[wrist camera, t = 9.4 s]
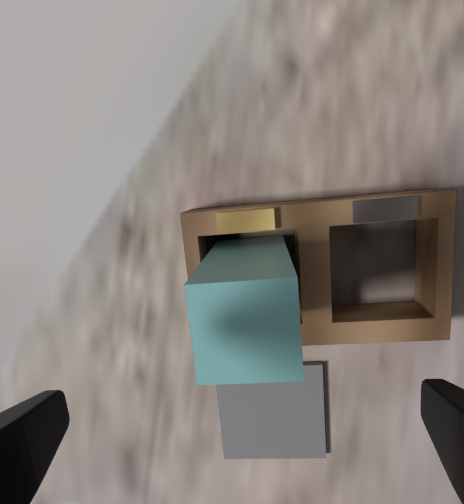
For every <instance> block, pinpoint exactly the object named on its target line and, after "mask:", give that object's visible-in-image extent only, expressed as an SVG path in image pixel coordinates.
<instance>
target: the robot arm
mask: <svg viewBox="0 0 464 504" xmlns="http://www.w3.org/2000/svg"><path fill="white" fill-rule="evenodd" d="M421 416H422V419H423V422H424V424H425V427H426V429H427V431H428V433H429V435H430V438H431V440H432V442H433V444H434V446H435V449H436V451H437V453H438V455H439V457H440V460H441V462H442V464H443V466H444V468H445V471H446V473H447V475H448V477H449V479H450V481H451V483H452V486H453V488H454V490H455V491H456V493H457V495H458V497H459V499H460V501H461V502H462V504H464V389H462V388H460V387H458V386H456V385H454V384H452V383H450V382H448V381H446V380H443V379H425V380H423V381H422V385H421ZM68 426H69V412H68V408H67V403H66V399H65V395H64V393H63V391H61V390H47V391H44V392H42V393H40V394H38V395H36V396H33V397H31V398H29V399H27V400H25V401H23V402H21V403H19V404H17V405H15V406H13V407H11V408H9V409H7V410H5V411H3V412H1V413H0V504H30V503H31V501H32V499H33V497H34V496H35V494H36V492H37V490H38V489H39V487H40V485H41V483H42V481H43V479H44V477H45V475H46V473H47V470H48V468H49V466H50V464H51V462H52V460H53V458H54V456H55V454H56V452H57V449H58V447H59V445H60V443H61V441H62V439H63V437H64V435H65V433H66V431H67V428H68Z"/></svg>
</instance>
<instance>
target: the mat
mask: <svg viewBox="0 0 464 504" xmlns="http://www.w3.org/2000/svg"><path fill="white" fill-rule="evenodd" d="M303 373H304V381H303V382H275V383H248V384H220V385H216V387H217V396H218V405H219V414H220V423H221V432H222V441H223V450H224V459H257V458H326V442H325V417H324V391H323V366H322V362H303Z"/></svg>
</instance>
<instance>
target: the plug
mask: <svg viewBox="0 0 464 504" xmlns="http://www.w3.org/2000/svg"><path fill="white" fill-rule="evenodd" d="M184 288H185V295H186V303H187V310H188V318H189V325H190V333H191V340H192V348H193V355H194V363H195V370H196V378H197V385H220V384H248V383H275V382H303V381H304V373H303V357H302V341H301V325H300V308H299V292H298V277H297V274H296V271H295V269H294V266H293V263H292V260H291V258H290V255H289V252H288V249H287V247H286V244H285V241H284V238H283V236H270V237H257V238H245V239H233V240H221V241H217V242H216V243H215V245H214V246H213V247H212V249H211V250H210V251H209V253H208V254H207V255H206V257H205V258H204V259H203V261H202V262H201V263H200V265H199V266H198V267H197V269H196V270H195V271H194V273H193V274H192V275H191V277H190V278H189V279H188V280H187V282H186V283H185V284H184Z"/></svg>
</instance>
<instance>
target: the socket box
mask: <svg viewBox="0 0 464 504" xmlns="http://www.w3.org/2000/svg"><path fill="white" fill-rule="evenodd" d="M456 194H457V190H440V189H427V190H415V191H403V192H391V193H380V194H368V195H356V196H344V197H333V198H321V199H309V200H298V201H286V202H274V203H262V204H251V205H239V206H227V207H215V208H204V209H192V210H188V211H185V212H183V213H180V217H181V225H182V233H183V242H184V250H185V258H186V266H187V275H188V279H189V278H190V277H191V275H192V274H193V273H194V271H195V270H196V269H197V267H198V266H199V265H200V263H201V262H202V261H203V259H204V258H205V257H206V255H207V254H208V252H207V243H206V236H208V235H221V234H234V233H247V232H260V231H273V230H286V229H294V238H295V257H296V274H297V277H298V292H299V308H300V325H301V341H302V346H307V345H332V344H357V343H382V342H407V341H432V340H450V328H451V306H452V283H453V261H454V239H455V216H456ZM404 220H416V252H415V300H414V302H397V303H378V304H358V305H339V306H332V301H331V270H330V239H329V226H339V225H352V224H365V223H378V222H391V221H404Z"/></svg>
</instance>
